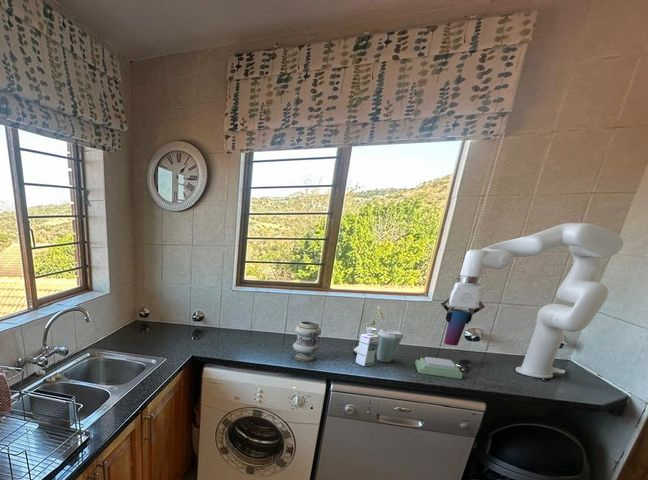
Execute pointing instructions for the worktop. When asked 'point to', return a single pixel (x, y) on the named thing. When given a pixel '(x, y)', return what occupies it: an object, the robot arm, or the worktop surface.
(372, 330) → the flower in vase
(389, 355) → the disposable coffee cup
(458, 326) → the cup
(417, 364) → the scale
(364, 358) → the syrup box
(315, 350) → the apothecary jar
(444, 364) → the scale pan
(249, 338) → the worktop surface
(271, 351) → the worktop surface
